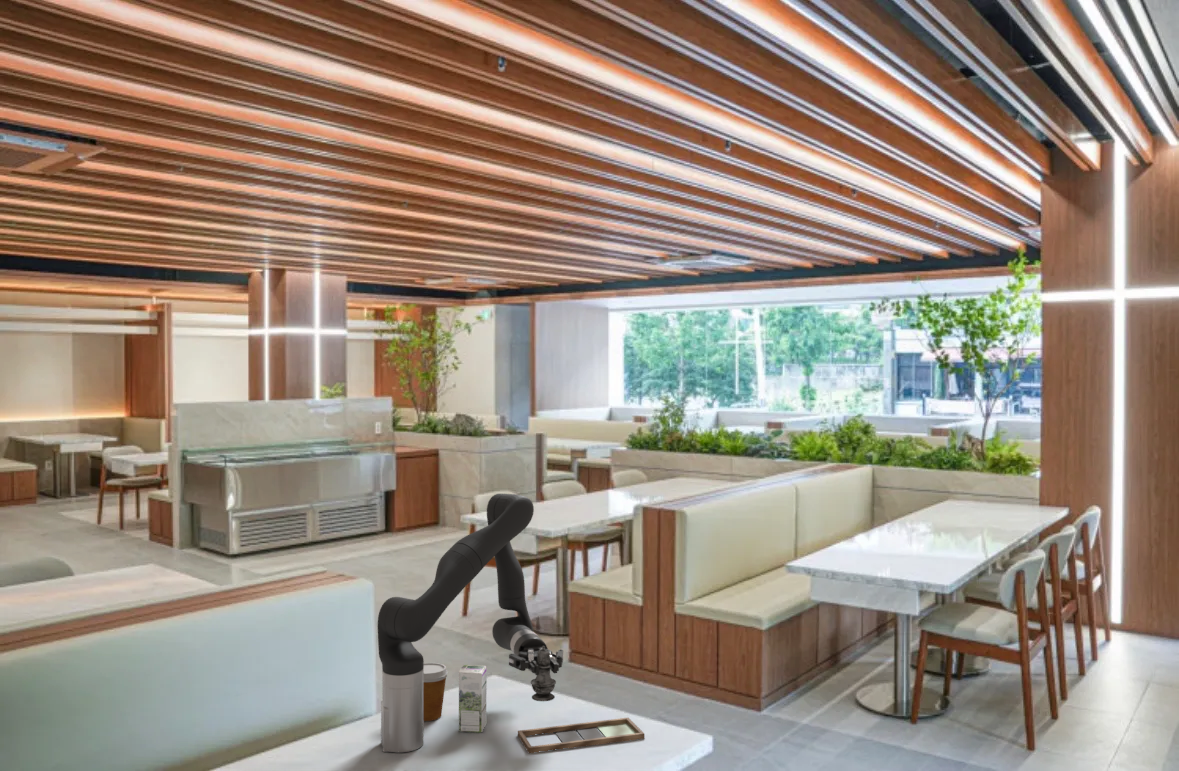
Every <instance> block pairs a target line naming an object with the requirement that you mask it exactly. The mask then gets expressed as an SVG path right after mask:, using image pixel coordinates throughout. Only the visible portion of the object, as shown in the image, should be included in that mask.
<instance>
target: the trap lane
mask: <svg viewBox="0 0 1179 771" xmlns="http://www.w3.org/2000/svg"><path fill="white" fill-rule="evenodd" d="M553 732H555V733H553ZM542 733H544V734H542ZM545 733H548V734H555V735H556V734H557V735H556V736H557V737H558V739H559V738H560V739H559V740H560V742H557V743H556V742H555V743H549V744H540V745H539V744H538V745H532V744H531V743H530V741H529V740H528V739H527V737H531V736H530V735H532V736H536V735H535V734H540V735H546V734H545ZM517 738H518V739H519V740H520V742H521V743H522V744H523V745H522V746H524V748H525V749H527V750H526V752H527V753H528V754H535V753H534V752H537V753H540V752H539V751H545V752H549V751H548V750H553V751H556V750H555V749H561V750H564V749H563V748H568V749H573V748H574V747H576V748H583V747H584V748H585V747H591V746H599V745H605V744H614V743H615V744H616V743H621V742H629V741H630V740H631V741H637V739H639V740H645V732H644V731H642V730H641V729H640V728H639V727H638V725H637V724H635V723H634V721H632V719H630V718H629V717H623V718H622V717H620V718H613V719H612V718H611V719H604V720H596V721H589V722H588V721H587V722H581V723H580V722H579V723H573V724H572V723H570V724H562V725H555V726H547V727H537V728H529V729H522V730H518V731H517ZM631 741H630V742H631ZM574 749H575V748H574Z"/></svg>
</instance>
